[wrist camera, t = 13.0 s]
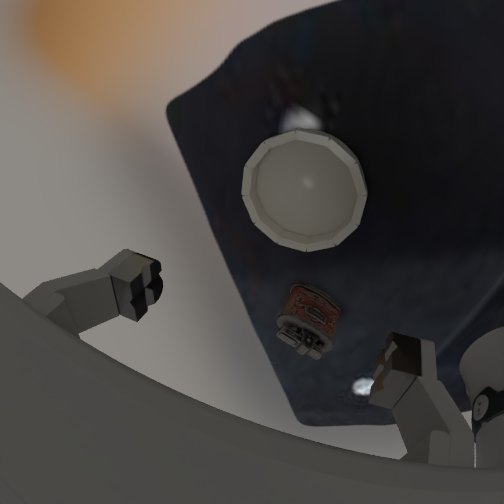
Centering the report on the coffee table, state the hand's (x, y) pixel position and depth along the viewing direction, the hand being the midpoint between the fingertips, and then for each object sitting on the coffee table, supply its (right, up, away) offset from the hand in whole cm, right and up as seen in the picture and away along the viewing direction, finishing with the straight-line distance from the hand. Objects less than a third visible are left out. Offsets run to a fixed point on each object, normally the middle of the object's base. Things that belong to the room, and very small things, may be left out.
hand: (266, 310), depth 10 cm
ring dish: (+6, +10, +27) cm, 29 cm away
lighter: (+9, -5, +35) cm, 36 cm away
